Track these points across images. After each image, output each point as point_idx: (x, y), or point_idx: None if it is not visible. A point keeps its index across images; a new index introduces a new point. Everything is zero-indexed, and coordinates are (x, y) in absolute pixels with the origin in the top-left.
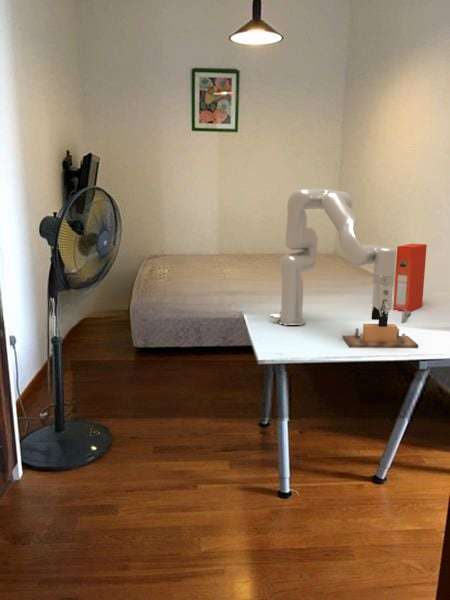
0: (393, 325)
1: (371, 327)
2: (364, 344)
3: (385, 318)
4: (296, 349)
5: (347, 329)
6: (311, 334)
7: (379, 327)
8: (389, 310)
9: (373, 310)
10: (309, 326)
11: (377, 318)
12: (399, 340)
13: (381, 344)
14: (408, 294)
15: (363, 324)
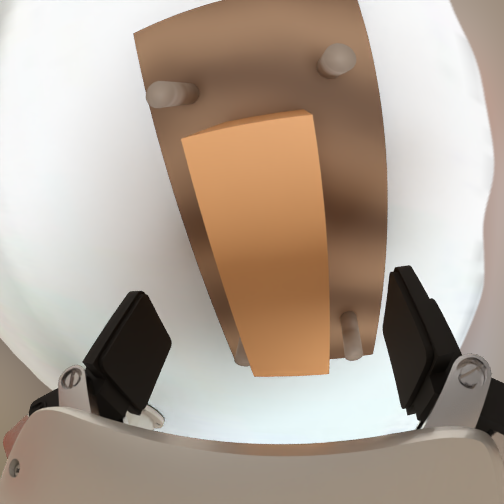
0: (263, 155)
1: (328, 342)
2: (380, 306)
3: (457, 355)
4: (370, 423)
5: (102, 313)
6: (218, 404)
7: (328, 294)
8: (460, 430)
9: (141, 408)
10: None
11: (150, 316)
12: (264, 81)
13: (385, 223)
14: None
15: (256, 372)
